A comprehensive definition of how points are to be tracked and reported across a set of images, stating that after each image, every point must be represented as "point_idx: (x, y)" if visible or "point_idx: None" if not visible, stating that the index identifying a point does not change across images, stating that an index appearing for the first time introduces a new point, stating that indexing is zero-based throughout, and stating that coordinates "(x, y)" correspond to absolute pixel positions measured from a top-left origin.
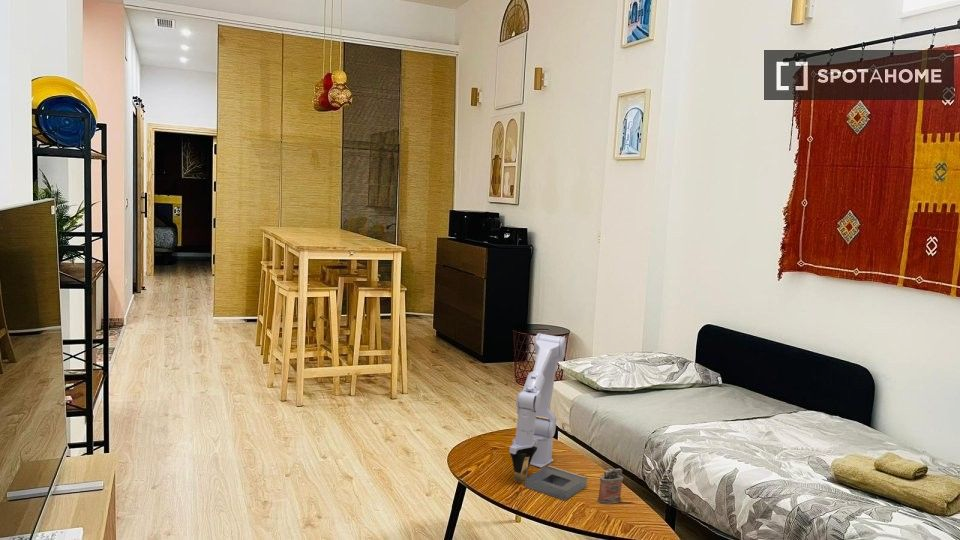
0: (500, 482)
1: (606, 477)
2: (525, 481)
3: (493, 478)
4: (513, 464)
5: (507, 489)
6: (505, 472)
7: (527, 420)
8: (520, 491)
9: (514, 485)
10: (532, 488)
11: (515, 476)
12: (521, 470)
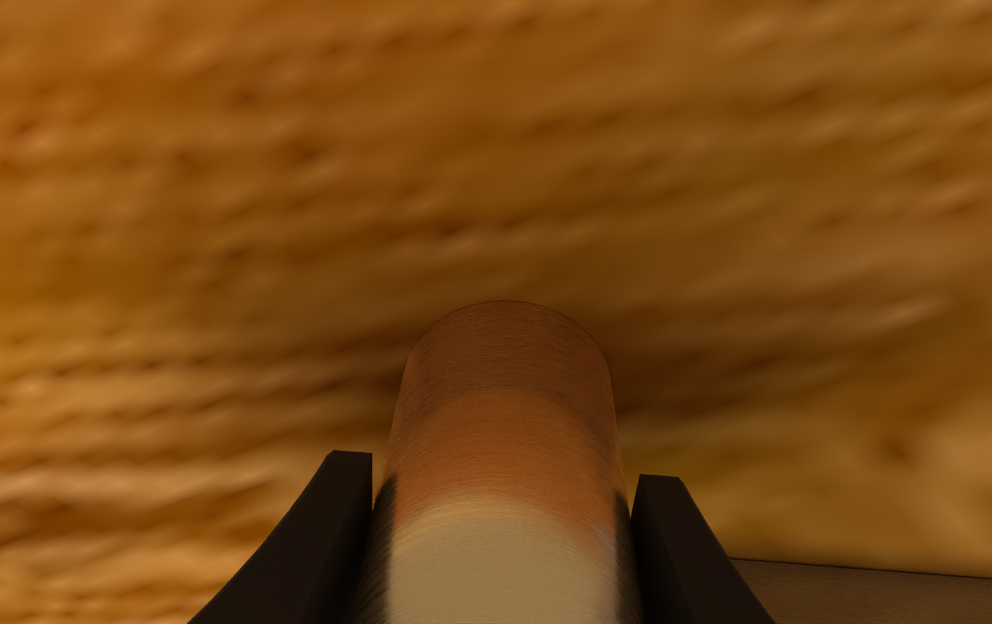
0: (145, 198)
1: None
2: None
3: (189, 3)
4: (265, 545)
5: (19, 393)
6: (667, 47)
7: None
8: (130, 533)
9: (238, 408)
10: None
11: (402, 391)
12: None
